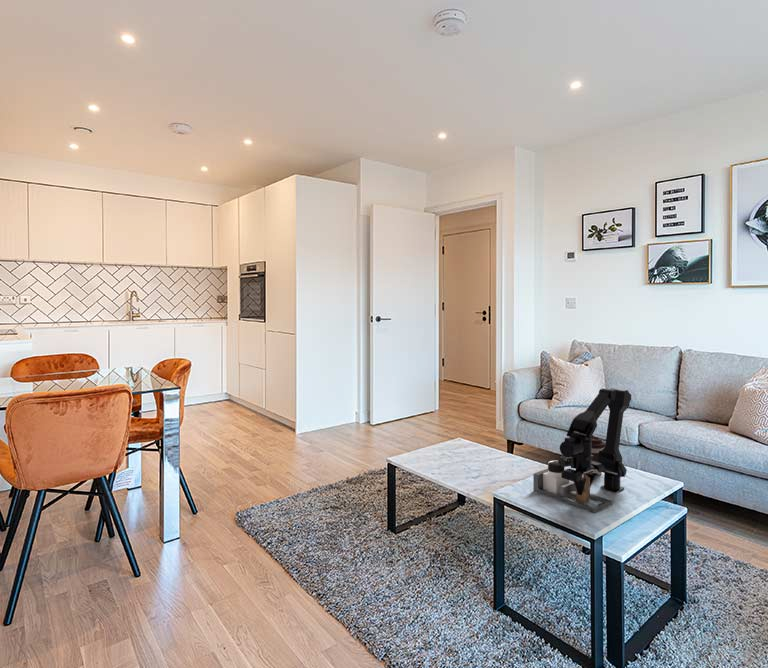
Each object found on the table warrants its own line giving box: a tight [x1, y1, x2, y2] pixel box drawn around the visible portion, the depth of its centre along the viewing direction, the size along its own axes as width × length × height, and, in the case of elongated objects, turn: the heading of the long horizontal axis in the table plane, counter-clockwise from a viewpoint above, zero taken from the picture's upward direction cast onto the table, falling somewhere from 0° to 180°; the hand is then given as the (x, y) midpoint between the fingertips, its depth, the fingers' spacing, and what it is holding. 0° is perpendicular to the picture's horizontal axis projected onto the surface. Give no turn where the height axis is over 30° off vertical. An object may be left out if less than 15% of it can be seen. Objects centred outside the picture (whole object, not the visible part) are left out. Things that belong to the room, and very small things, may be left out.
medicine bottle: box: [543, 460, 571, 495], centre depth 190 cm, size 7×7×12 cm
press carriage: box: [559, 474, 591, 504], centre depth 183 cm, size 8×9×10 cm
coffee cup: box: [591, 436, 606, 476], centre depth 211 cm, size 10×10×15 cm
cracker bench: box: [532, 468, 613, 514], centre depth 185 cm, size 12×26×7 cm, turn 36°
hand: (582, 493), depth 181 cm, fingers closed on press carriage, 3 cm apart
